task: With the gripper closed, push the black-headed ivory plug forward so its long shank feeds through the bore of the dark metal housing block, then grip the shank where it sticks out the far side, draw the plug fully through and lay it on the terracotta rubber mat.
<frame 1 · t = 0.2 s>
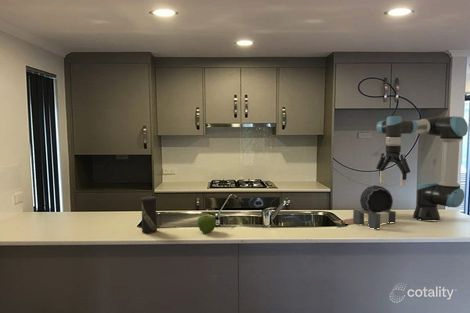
hand: (392, 184, 198), 28 cm above the counter, fingers open, 13 cm apart
dark grey thick wheel: (375, 215, 243), on the counter
apple: (206, 232, 204), on the counter
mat: (351, 221, 227), on the counter
plug: (388, 222, 225), on the counter
container: (149, 231, 207), on the counter
housing: (366, 226, 217), on the counter
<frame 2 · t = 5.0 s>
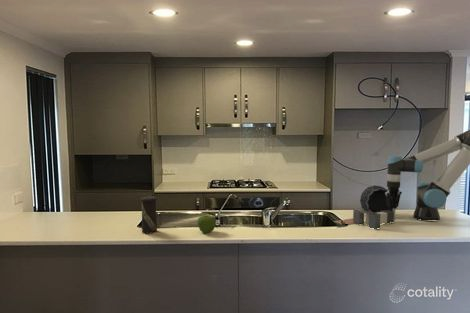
hand: (391, 218, 227), 2 cm above the counter, fingers closed
plug: (386, 222, 225), on the counter, touching gripper
everything else where it was.
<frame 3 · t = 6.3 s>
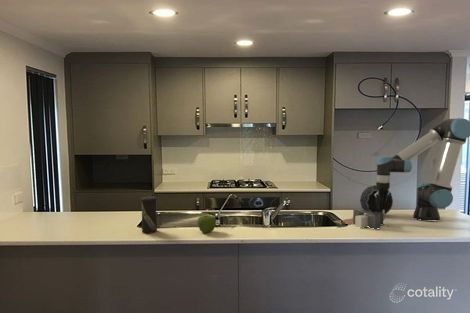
hand: (381, 220, 223), 2 cm above the counter, fingers closed
plug: (376, 224, 221), on the counter, touching gripper
everything else where it was.
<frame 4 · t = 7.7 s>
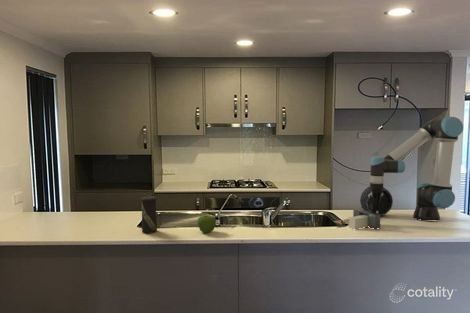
hand: (375, 221, 220), 2 cm above the counter, fingers closed
plug: (370, 225, 218), on the counter, touching gripper
everything else where it was.
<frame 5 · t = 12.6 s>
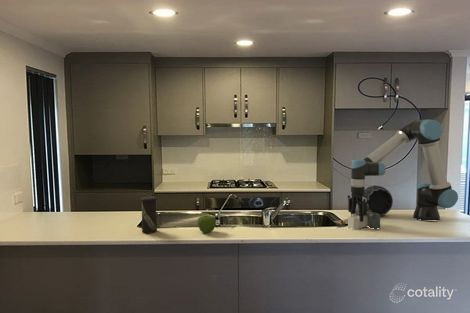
hand: (356, 225, 213), 1 cm above the counter, fingers closed on plug, 4 cm apart
plug: (369, 225, 218), on the counter, touching gripper
everything else where it was.
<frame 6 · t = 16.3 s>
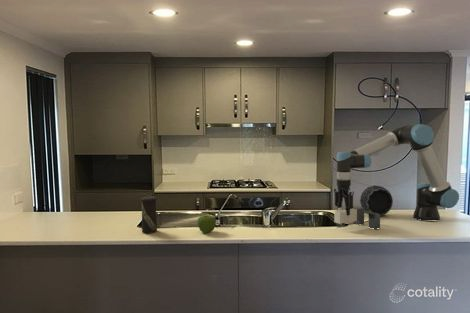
hand: (343, 219, 208), 6 cm above the counter, fingers closed on plug, 4 cm apart
plug: (357, 219, 213), point 5 cm above the counter, touching gripper
everything else where it was.
when the fingers open (3 cm above the counter, at t = 20.1 s): plug drops 1 cm, resting on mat.
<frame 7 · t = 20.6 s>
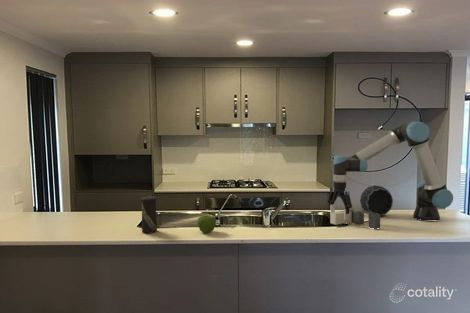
hand: (339, 216, 222), 4 cm above the counter, fingers open, 11 cm apart
plug: (351, 220, 227), resting on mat
everything else where it was.
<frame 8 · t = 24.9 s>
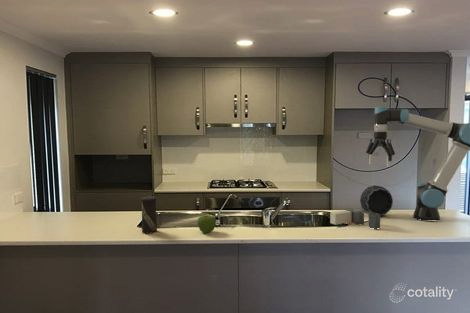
hand: (379, 165, 228), 35 cm above the counter, fingers open, 13 cm apart
nothing on the counter moved.
at the end: plug inside the target area (1.5 cm from its centre), on the counter; the gripper is holding nothing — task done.
